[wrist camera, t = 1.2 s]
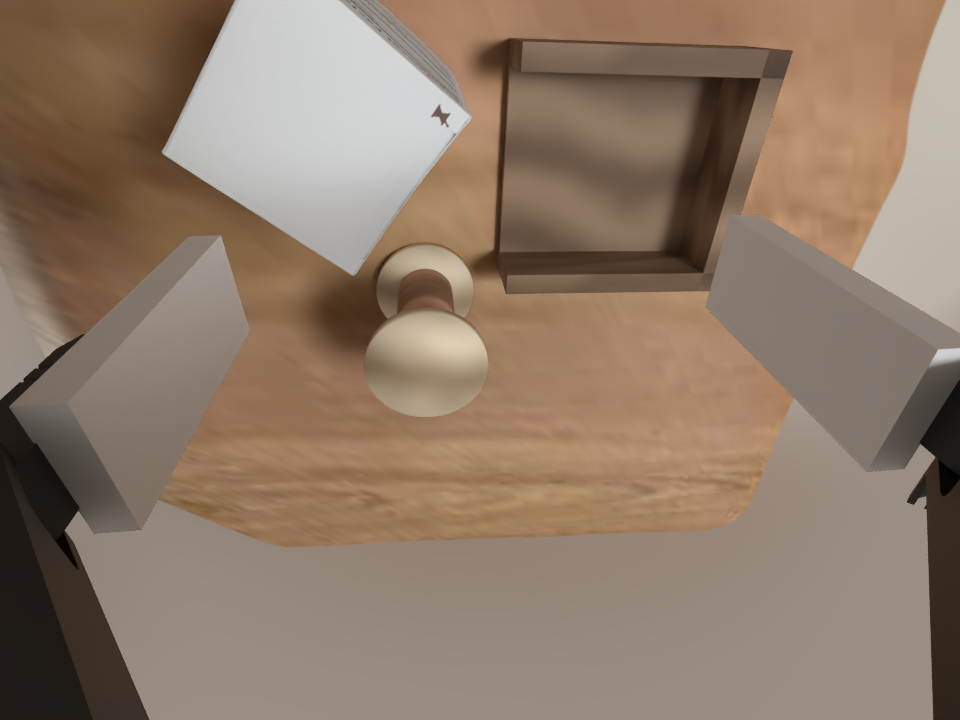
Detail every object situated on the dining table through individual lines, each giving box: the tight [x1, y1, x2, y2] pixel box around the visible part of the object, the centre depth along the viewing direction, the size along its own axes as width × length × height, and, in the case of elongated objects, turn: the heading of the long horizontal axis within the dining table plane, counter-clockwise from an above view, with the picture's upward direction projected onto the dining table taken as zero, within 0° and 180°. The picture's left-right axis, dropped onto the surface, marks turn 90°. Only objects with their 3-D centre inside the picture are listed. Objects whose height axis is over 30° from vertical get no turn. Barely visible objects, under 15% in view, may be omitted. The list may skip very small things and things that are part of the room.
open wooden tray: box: [497, 38, 793, 294], centre depth 37 cm, size 16×16×5 cm
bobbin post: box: [364, 243, 488, 417], centre depth 38 cm, size 8×8×12 cm
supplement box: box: [162, 0, 471, 276], centre depth 27 cm, size 10×9×17 cm
